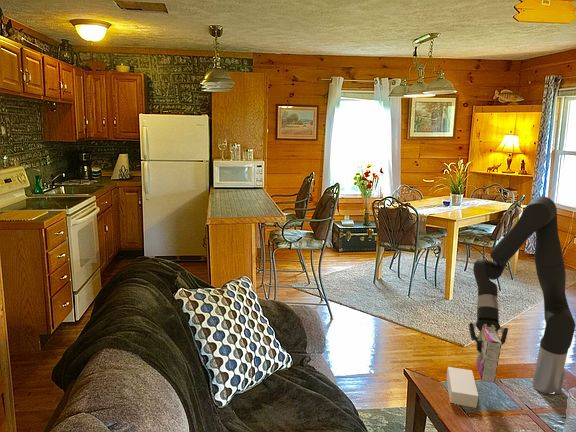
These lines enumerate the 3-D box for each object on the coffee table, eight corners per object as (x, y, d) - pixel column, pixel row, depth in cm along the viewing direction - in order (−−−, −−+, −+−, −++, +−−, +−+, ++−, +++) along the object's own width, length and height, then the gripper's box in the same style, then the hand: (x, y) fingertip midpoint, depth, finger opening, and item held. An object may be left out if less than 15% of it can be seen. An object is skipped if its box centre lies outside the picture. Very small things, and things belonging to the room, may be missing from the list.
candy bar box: (475, 363, 179) (481, 325, 174) (488, 365, 178) (496, 326, 174) (480, 381, 169) (487, 340, 164) (495, 383, 168) (502, 342, 163)
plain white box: (470, 381, 184) (472, 370, 182) (476, 407, 169) (478, 395, 167) (446, 377, 186) (447, 366, 184) (450, 403, 171) (451, 391, 169)
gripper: (469, 303, 177) (469, 348, 169) (510, 308, 174) (512, 354, 166) (466, 309, 184) (465, 352, 176) (505, 314, 181) (506, 359, 173)
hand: (488, 353), depth 171 cm, fingers closed on candy bar box, 5 cm apart
